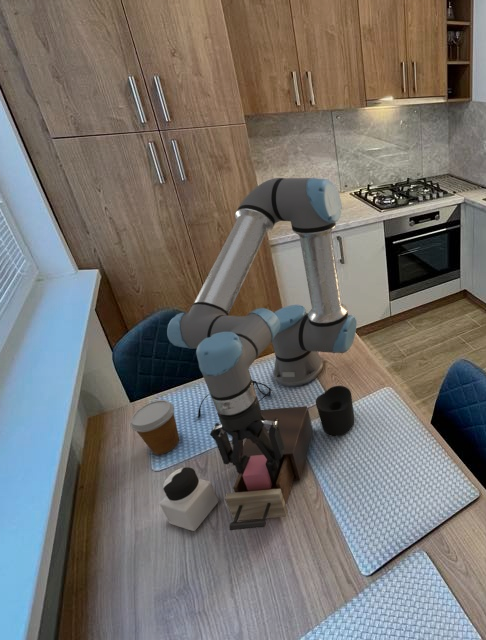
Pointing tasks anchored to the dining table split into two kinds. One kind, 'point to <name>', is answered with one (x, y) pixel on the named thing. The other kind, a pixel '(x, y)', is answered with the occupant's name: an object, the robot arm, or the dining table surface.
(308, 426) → the cabinet
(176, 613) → the dining table surface
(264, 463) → the block
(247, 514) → the drawer
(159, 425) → the disposable coffee cup
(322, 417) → the pen holder
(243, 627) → the dining table surface
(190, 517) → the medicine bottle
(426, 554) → the dining table surface
